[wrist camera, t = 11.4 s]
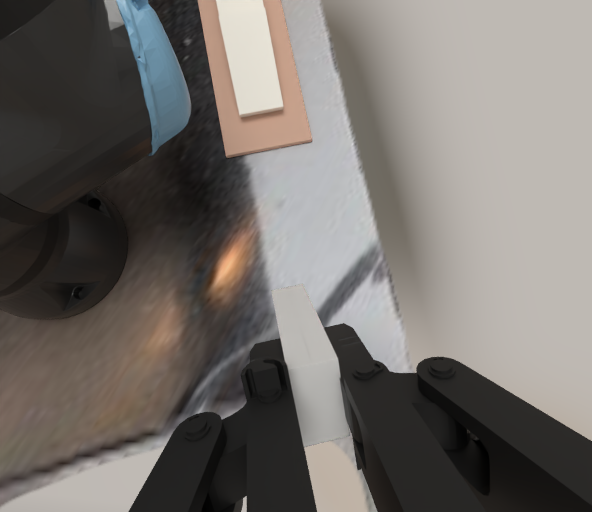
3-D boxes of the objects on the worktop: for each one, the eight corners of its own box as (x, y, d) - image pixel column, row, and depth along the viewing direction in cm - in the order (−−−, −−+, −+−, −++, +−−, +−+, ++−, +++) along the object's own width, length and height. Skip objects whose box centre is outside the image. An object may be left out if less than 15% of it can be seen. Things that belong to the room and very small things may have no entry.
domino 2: (283, 106, 39) (264, 7, 37) (239, 114, 39) (218, 15, 37) (283, 109, 40) (265, 14, 38) (240, 117, 40) (220, 22, 38)
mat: (311, 141, 40) (311, 139, 40) (227, 158, 40) (226, 155, 39) (272, -31, 44) (272, -36, 43) (195, -17, 44) (193, -22, 43)
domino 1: (275, 71, 39) (257, -29, 37) (232, 79, 39) (211, -20, 37) (275, 75, 41) (257, -20, 39) (234, 83, 41) (214, -12, 39)
